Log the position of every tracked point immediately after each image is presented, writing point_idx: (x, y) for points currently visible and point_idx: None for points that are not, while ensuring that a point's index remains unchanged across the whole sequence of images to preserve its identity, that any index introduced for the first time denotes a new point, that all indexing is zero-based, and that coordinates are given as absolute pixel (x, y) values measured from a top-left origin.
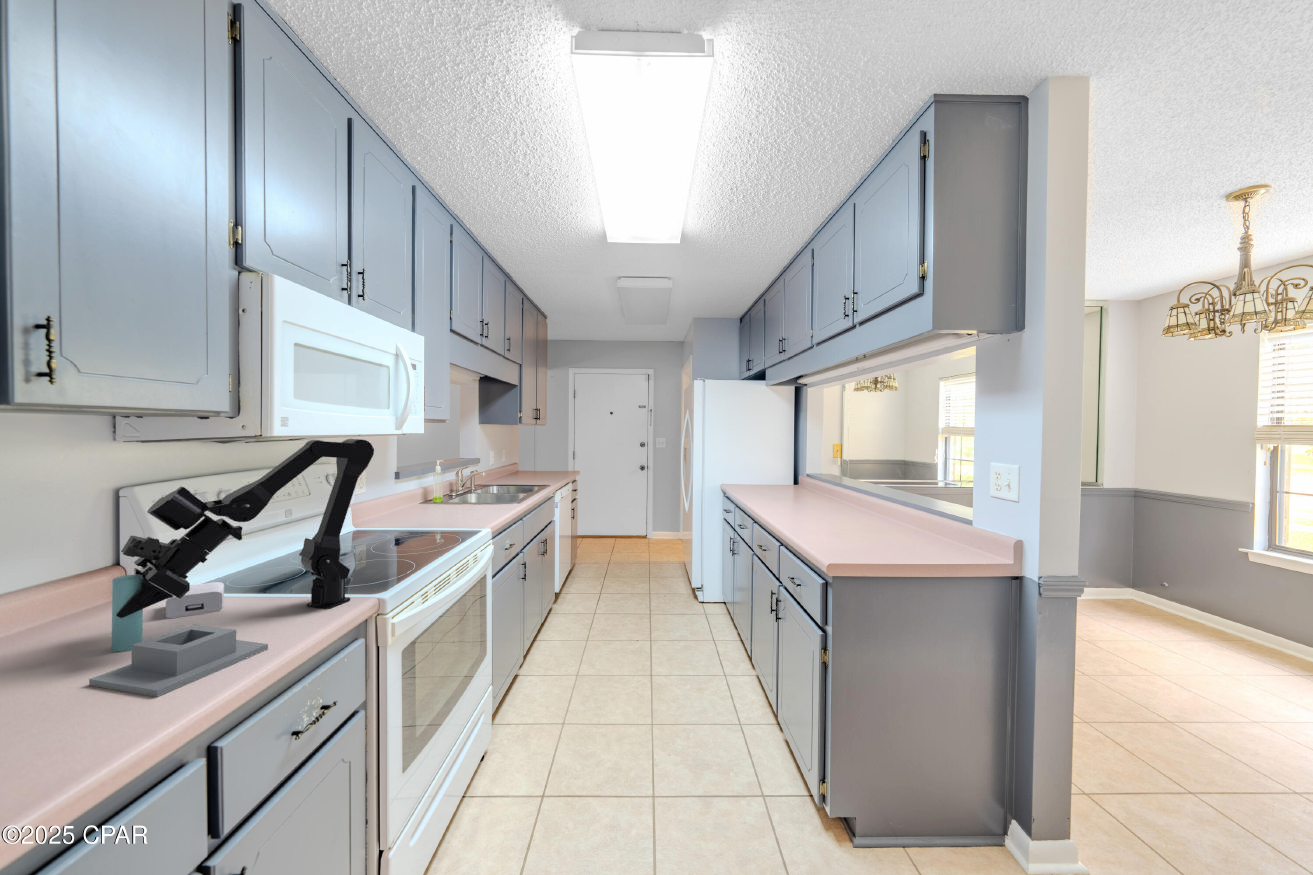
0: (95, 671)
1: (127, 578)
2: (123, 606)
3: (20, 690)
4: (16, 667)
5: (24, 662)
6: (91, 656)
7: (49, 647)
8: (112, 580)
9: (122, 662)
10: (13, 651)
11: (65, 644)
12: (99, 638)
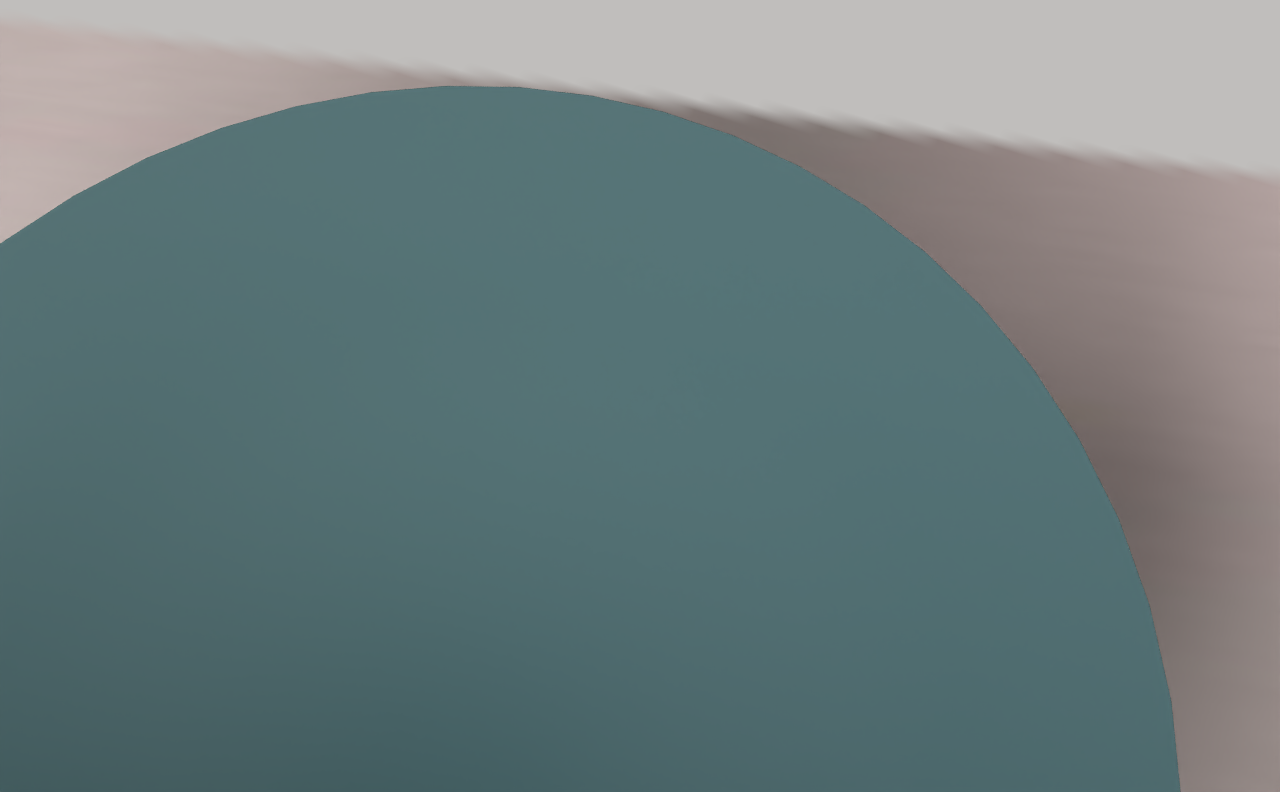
0: None
1: (217, 575)
2: None
3: (185, 75)
4: (783, 136)
5: (874, 183)
6: None
7: (1195, 357)
8: (570, 120)
9: None
10: (1275, 185)
11: (1199, 455)
12: (1193, 706)
